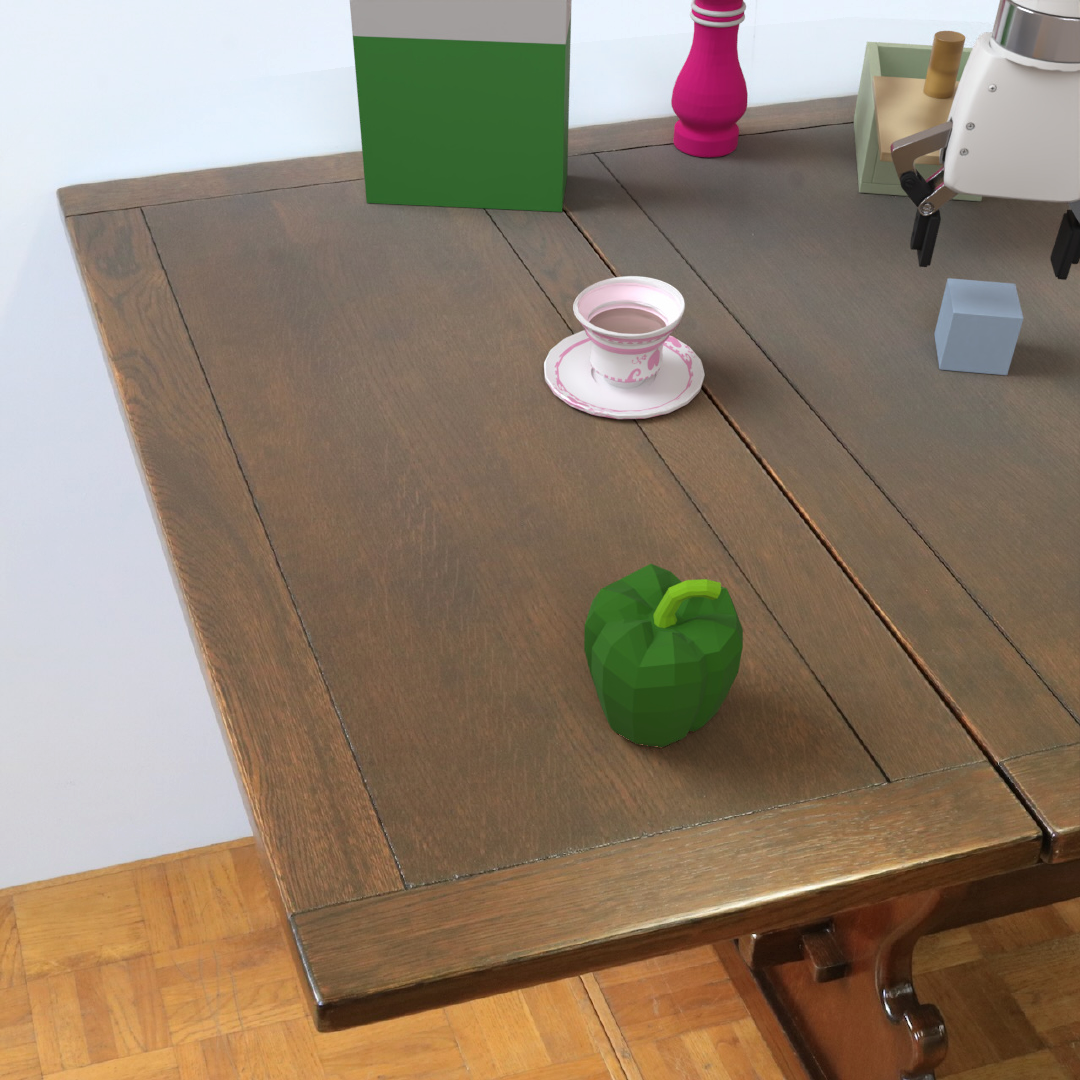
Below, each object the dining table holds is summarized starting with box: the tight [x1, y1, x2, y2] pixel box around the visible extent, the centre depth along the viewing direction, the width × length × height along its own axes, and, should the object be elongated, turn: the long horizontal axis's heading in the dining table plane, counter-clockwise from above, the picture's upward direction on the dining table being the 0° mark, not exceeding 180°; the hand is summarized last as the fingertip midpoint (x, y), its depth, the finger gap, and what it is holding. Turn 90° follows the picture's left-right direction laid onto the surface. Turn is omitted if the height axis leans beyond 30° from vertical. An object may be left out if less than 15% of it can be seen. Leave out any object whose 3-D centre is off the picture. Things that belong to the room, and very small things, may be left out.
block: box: [934, 277, 1025, 376], centre depth 100 cm, size 5×5×5 cm
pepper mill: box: [670, 0, 749, 158], centre depth 123 cm, size 7×7×20 cm
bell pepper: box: [583, 563, 744, 748], centre depth 71 cm, size 8×8×10 cm
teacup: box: [543, 275, 706, 420], centre depth 97 cm, size 12×12×6 cm
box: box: [853, 41, 984, 202], centre depth 125 cm, size 11×16×8 cm
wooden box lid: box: [872, 30, 966, 166], centre depth 112 cm, size 11×16×6 cm
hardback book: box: [349, 0, 572, 213], centre depth 114 cm, size 18×7×24 cm, turn 85°
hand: (989, 264), depth 96 cm, fingers open, 9 cm apart
